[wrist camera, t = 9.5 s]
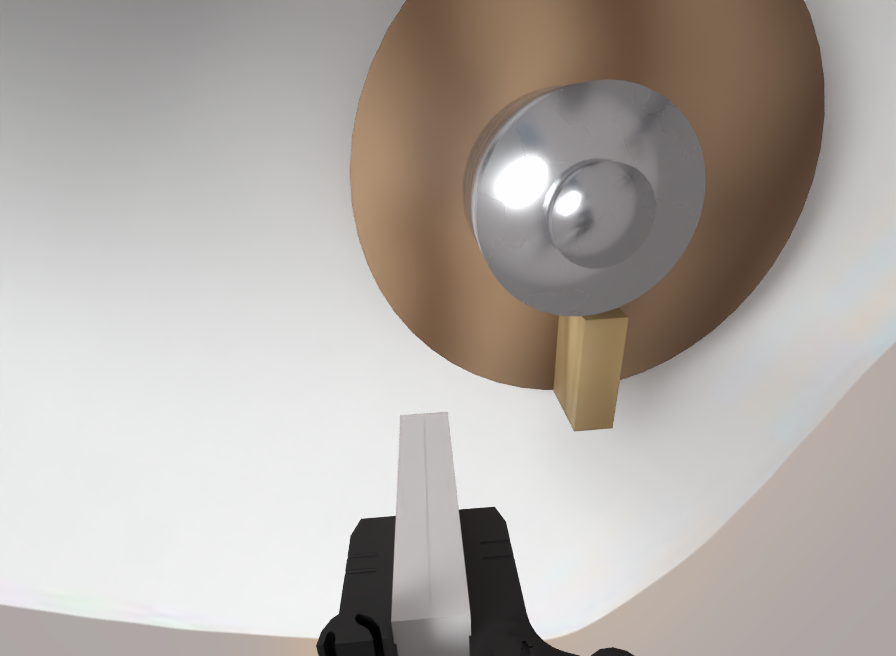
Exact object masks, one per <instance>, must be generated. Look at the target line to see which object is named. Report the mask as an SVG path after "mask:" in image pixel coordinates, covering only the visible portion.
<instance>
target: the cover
mask: <svg viewBox="0 0 896 656" xmlns="http://www.w3.org/2000/svg"><path fill="white" fill-rule="evenodd" d="M705 181H706V175H705V164H704V159H703V154H702V150H701V146H700V144H699V141H698V139H697V136H696V133H695V132H694V130H693V128H692V126H691V125H690V123H689V121H688V120H687V118H686V117H685V116H684V115H683V114H682V112H681V111H680V110H679V109H678V108H677V107H676V106H675V105H674V104H673V103H672V102H671V101H669V100H668V99H667V98H666V97H664V96H662V95H661V94H659V93H658V92H656V91H654V90H652V89H650V88H647V87H645V86H643V85H640V84H637V83H632V82H628V81H623V80H609V79H606V80H594V81H586V82H579V83H572V84H565V85H558V86H552V87H547V88H542V89H538V90H535V91H532V92H530V93H527V94H525V95H523V96H521V97H519V98H517V99H516V100H514V101H512V102H511V103H509V104H508V105H507V106H505V107H504V108H503V109H501V110H500V111H499V112H498V113H497V114H496V115H495V116H494V117H493V118H492V119H491V120H490V121H489V123H488V124H487V125H486V126H485V128H484V129H483V130H482V132H481V133H480V135H479V136H478V138H477V140H476V141H475V143H474V146H473V148H472V150H471V152H470V154H469V157H468V161H467V164H466V167H465V172H464V177H463V189H462V195H463V206H464V212H465V216H466V219H467V222H468V225H469V228H470V230H471V232H472V234H473V236H474V238H475V240H476V242H477V244H478V246H479V248H480V250H481V252H482V254H483V256H484V258H485V260H486V262H487V264H488V266H489V268H490V270H491V272H492V273H493V275H494V276H495V278H496V279H497V280H498V282H499V283H500V284H501V285H502V286H503V287H504V288H505V289H506V290H507V291H508V292H509V293H510V294H511V295H513V296H514V297H515V298H516V299H518V300H519V301H521V302H523V303H524V304H526V305H528V306H530V307H532V308H534V309H537V310H539V311H542V312H546V313H549V314H554V315H560V316H587V315H594V314H599V313H603V312H607V311H610V310H613V309H615V308H618V307H620V306H623V305H625V304H627V303H629V302H631V301H633V300H634V299H636V298H638V297H639V296H641V295H643V294H644V293H645V292H647V291H648V290H649V289H651V288H652V287H653V286H655V285H656V284H657V283H658V282H659V281H660V280H661V279H662V278H663V277H664V276H665V275H666V274H667V273H668V272H669V271H670V270H671V269H672V267H673V266H674V265H675V264H676V263H677V261H678V260H679V258H680V257H681V256H682V254H683V253H684V251H685V250H686V248H687V246H688V244H689V242H690V240H691V239H692V237H693V234H694V232H695V229H696V227H697V225H698V222H699V218H700V215H701V212H702V208H703V202H704V196H705Z"/></svg>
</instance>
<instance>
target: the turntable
mask: <svg viewBox="0 0 896 656" xmlns="http://www.w3.org/2000/svg"><path fill="white" fill-rule="evenodd" d="M606 79H609V80H623V81H628V82H632V83H637V84H640V85H643V86H645V87H647V88H650V89H652V90H654V91H656V92H658V93H659V94H661V95H662V96H664V97H666V98H667V99H668V100H669V101H671V102H672V103H673V104H674V105H675V106H676V107H677V108H678V109H679V110H680V111H681V112H682V114H683V115H684V116H685V117H686V118H687V120H688V121H689V123H690V125H691V126H692V128H693V130H694V132H695V133H696V136H697V139H698V141H699V144H700V146H701V150H702V154H703V159H704V164H705V175H706V181H705V196H704V202H703V208H702V212H701V215H700V218H699V222H698V225H697V227H696V229H695V232H694V234H693V237H692V239H691V240H690V242H689V244H688V246H687V248H686V250H685V251H684V253H683V254H682V256H681V257H680V258H679V260H678V261H677V263H676V264H675V265H674V266H673V267H672V269H671V270H670V271H669V272H668V273H667V274H666V275H665V276H664V277H663V278H662V279H661V280H660V281H659V282H658V283H657V284H656V285H655V286H653V287H652V288H651V289H649V290H648V291H647V292H645V293H644V294H643V295H641V296H639V297H638V298H636V299H634V300H633V301H631V302H629V303H627V304H625V305H623V306H620V307H618V308H615V309H613V310H610V311H607V312H603V313H599V314H594V315H587V316H560V315H554V314H549V313H546V312H542V311H539V310H537V309H534V308H532V307H530V306H528V305H526V304H524V303H523V302H521V301H519V300H518V299H516V298H515V297H514V296H513V295H511V294H510V293H509V292H508V291H507V290H506V289H505V288H504V287H503V286H502V285H501V284H500V283H499V282H498V280H497V279H496V278H495V276H494V275H493V273H492V272H491V270H490V268H489V266H488V264H487V262H486V260H485V258H484V256H483V254H482V252H481V250H480V248H479V246H478V244H477V242H476V240H475V238H474V236H473V234H472V232H471V230H470V228H469V225H468V222H467V219H466V216H465V212H464V206H463V195H462V189H463V177H464V172H465V167H466V164H467V161H468V157H469V154H470V152H471V150H472V148H473V146H474V143H475V141H476V140H477V138H478V136H479V135H480V133H481V132H482V130H483V129H484V128H485V126H486V125H487V124H488V123H489V121H490V120H491V119H492V118H493V117H494V116H495V115H496V114H497V113H498V112H499V111H500V110H501V109H503V108H504V107H505V106H507V105H508V104H509V103H511V102H512V101H514V100H516V99H517V98H519V97H521V96H523V95H525V94H527V93H530V92H532V91H535V90H538V89H542V88H547V87H552V86H558V85H565V84H572V83H579V82H586V81H594V80H606ZM823 122H824V76H823V69H822V62H821V55H820V47H819V44H818V40H817V37H816V33H815V30H814V26H813V23H812V19H811V16H810V13H809V11H808V9H807V7H806V5H805V2H804V0H406V2H405V3H404V5H403V7H402V8H401V10H400V11H399V13H398V14H397V16H396V17H395V19H394V20H393V22H392V24H391V25H390V27H389V28H388V30H387V32H386V34H385V36H384V38H383V41H382V43H381V45H380V47H379V49H378V51H377V53H376V55H375V57H374V59H373V61H372V64H371V66H370V69H369V72H368V75H367V78H366V81H365V84H364V87H363V90H362V93H361V97H360V100H359V104H358V109H357V114H356V119H355V125H354V130H353V135H352V147H351V163H350V180H351V196H352V207H353V212H354V217H355V222H356V228H357V233H358V237H359V240H360V243H361V246H362V249H363V252H364V255H365V258H366V261H367V264H368V266H369V268H370V270H371V272H372V274H373V276H374V278H375V280H376V282H377V285H378V287H379V289H380V290H381V292H382V293H383V295H384V296H385V298H386V299H387V301H388V302H389V304H390V306H391V307H392V309H393V310H394V312H395V313H396V314H397V315H398V316H399V318H400V319H401V320H402V321H403V322H404V323H405V324H406V326H407V327H408V328H409V329H410V330H411V331H412V332H413V333H414V334H415V335H416V336H417V337H418V338H419V339H421V340H422V341H423V342H424V343H425V344H426V345H427V346H428V347H430V348H431V349H432V350H433V351H435V352H436V353H438V354H439V355H441V356H442V357H444V358H445V359H447V360H448V361H450V362H451V363H453V364H455V365H457V366H459V367H461V368H463V369H465V370H467V371H469V372H471V373H473V374H475V375H478V376H481V377H484V378H487V379H489V380H492V381H495V382H498V383H503V384H507V385H512V386H517V387H521V388H532V389H542V390H554V393H555V395H556V397H557V399H558V401H559V402H560V404H561V406H562V408H563V410H564V412H565V414H566V416H567V418H568V420H569V422H570V424H571V426H572V428H573V430H574V431H584V430H597V429H609V428H613V421H614V414H615V407H616V400H617V394H618V387H619V380H622V379H625V378H627V377H630V376H633V375H636V374H639V373H641V372H644V371H646V370H648V369H651V368H653V367H655V366H657V365H659V364H661V363H663V362H665V361H668V360H669V359H671V358H673V357H674V356H676V355H678V354H679V353H681V352H683V351H684V350H686V349H688V348H689V347H691V346H692V345H694V344H695V343H696V342H698V341H699V340H700V339H702V338H703V337H705V336H706V335H707V334H709V333H710V332H711V331H713V330H714V329H715V328H716V327H717V326H718V325H719V324H721V323H722V322H723V321H724V320H725V319H726V318H727V317H728V316H729V315H731V314H732V313H733V312H734V311H735V310H736V309H737V308H738V307H739V306H740V304H741V303H742V302H743V301H744V300H745V299H746V298H747V297H748V296H749V295H750V294H751V292H752V291H753V290H754V289H755V288H756V287H757V285H758V284H759V283H760V281H761V280H762V279H763V277H764V276H765V275H766V273H767V272H768V271H769V269H770V268H771V267H772V265H773V264H774V262H775V260H776V259H777V257H778V255H779V254H780V252H781V250H782V249H783V247H784V246H785V244H786V242H787V241H788V239H789V237H790V235H791V233H792V231H793V229H794V226H795V224H796V222H797V220H798V218H799V216H800V214H801V212H802V210H803V207H804V204H805V201H806V198H807V195H808V193H809V190H810V187H811V184H812V181H813V178H814V174H815V169H816V165H817V161H818V157H819V152H820V148H821V140H822V131H823Z"/></svg>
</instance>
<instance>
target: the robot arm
mask: <svg viewBox="0 0 896 656" xmlns="http://www.w3.org/2000/svg"><path fill="white" fill-rule="evenodd" d="M316 647H317V651H318V654H319V656H579V655H575V654H571V653H567V652H564V651H561V650H559V649H556V648H553V647H552V646H550V645H548V644H547V643H546V642H544V641H543V640H542V639H541V638H540V637H539V636H538V635H537V634H536V632H535V631H534V629H533V628H532V626H531V624H530V622H529V619H528V616H527V613H526V609H525V604H524V600H523V595H522V591H521V586H520V582H519V578H518V573H517V569H516V564H515V560H514V557H513V551H512V547H511V543H510V538H509V533H508V529H507V525H506V521H505V520H504V519H503V517H502V516H501V515H500V513H499V512H498V511H497V509H496V508H495V507H486V508H474V509H461V510H459V509H458V500H457V491H456V482H455V473H454V465H453V456H452V447H451V438H450V429H449V421H448V412H441V413H427V414H413V415H400V437H399V459H398V481H397V503H396V516H390V517H378V518H365V519H361V520H360V522H359V523H358V525H357V526H356V528H355V530H354V531H353V533H352V535H351V537H350V544H349V551H348V559H347V564H346V574H345V577H344V584H343V591H342V597H341V604H340V611H339V614H338V615H337V616H335V617H334V618H333V619H331V620H330V621H329V623H328V624H327V625H326V626H325V628H324V629H323V630H322V632H321V634H320V637H319V640H318V642H317V645H316ZM591 656H634V655H632V654H631V653H629V652H628V651H625V650H621V649H617V648H613V647H612V648H605V649H600V650H598V651H597V652H595V653H594V654H593V655H591Z"/></svg>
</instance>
